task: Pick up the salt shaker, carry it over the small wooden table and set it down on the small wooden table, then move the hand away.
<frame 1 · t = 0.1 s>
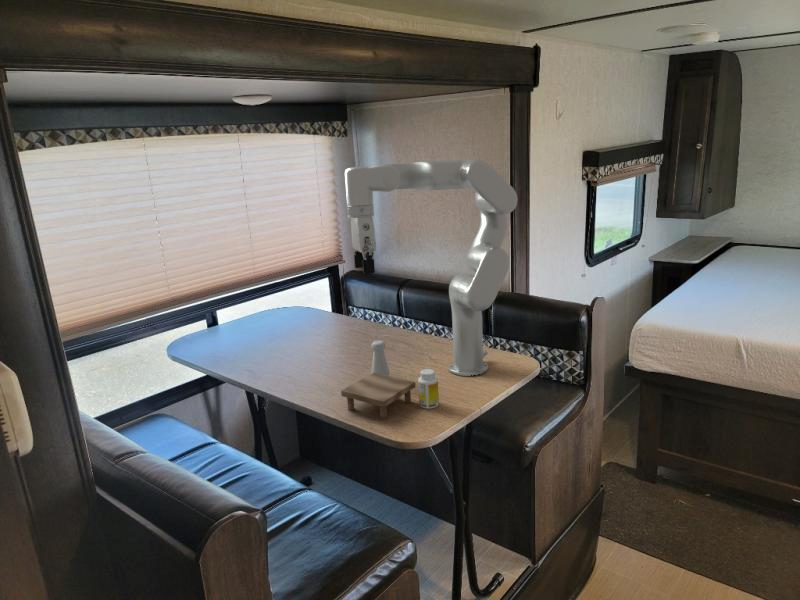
hand: (364, 270, 167), 37 cm above the table, tool pointing down, fingers open, 9 cm apart
supplement bottle: (429, 405, 162), on the table
salt shaker: (380, 381, 182), on the table
small wooden table: (379, 405, 164), on the table
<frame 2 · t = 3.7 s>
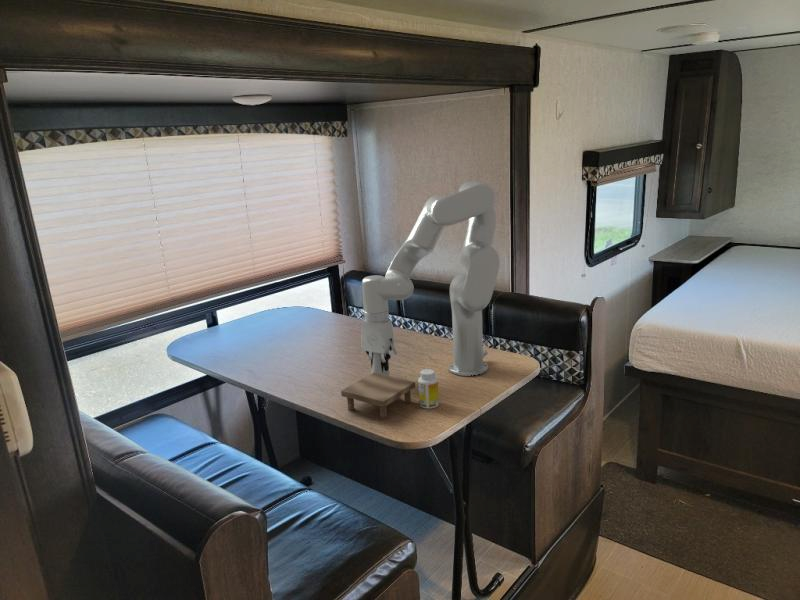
hand: (380, 370, 181), 3 cm above the table, tool pointing down, fingers closed on salt shaker, 3 cm apart
salt shaker: (380, 381, 182), on the table, touching gripper
everything else where it was.
when the fingers open (11 cm above the table, at t = 9.7 s): salt shaker drops 1 cm, resting on small wooden table.
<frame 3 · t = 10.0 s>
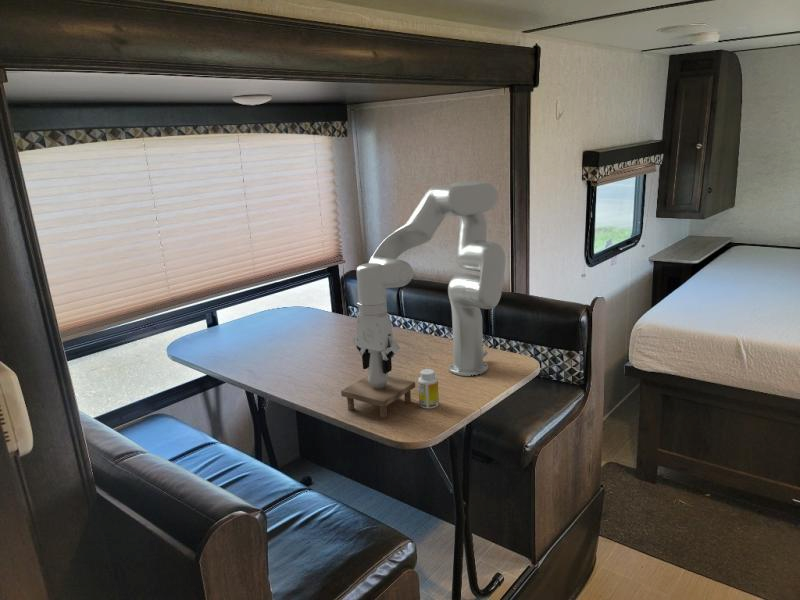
hand: (377, 369, 161), 11 cm above the table, tool pointing down, fingers open, 6 cm apart
salt shaker: (378, 386, 163), point 6 cm above the table, touching small wooden table
everything else where it was.
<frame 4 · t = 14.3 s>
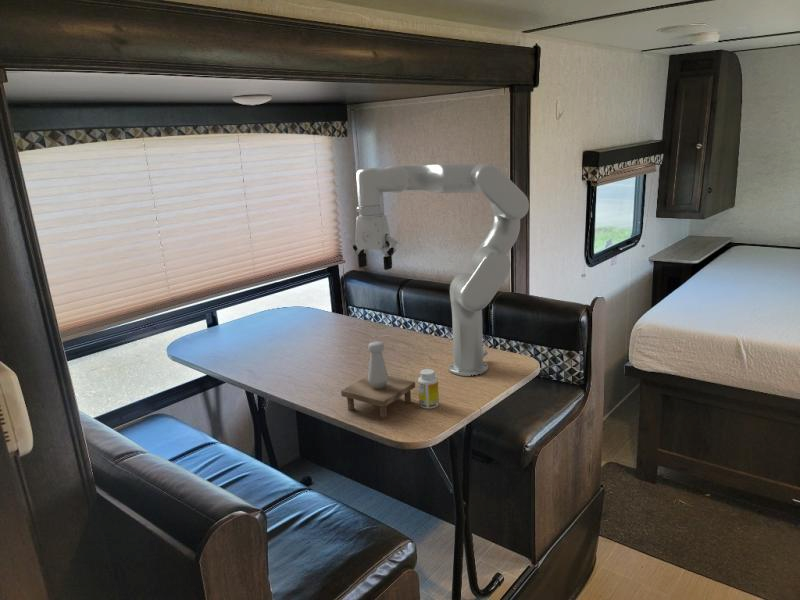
hand: (375, 267, 173), 36 cm above the table, tool pointing down, fingers open, 9 cm apart
nothing on the table moved.
at the end: salt shaker inside the target area on the small wooden table (0.1 cm from its centre), point 5.8 cm above the small wooden table's base; salt shaker tilted 0°; the gripper is holding nothing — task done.
